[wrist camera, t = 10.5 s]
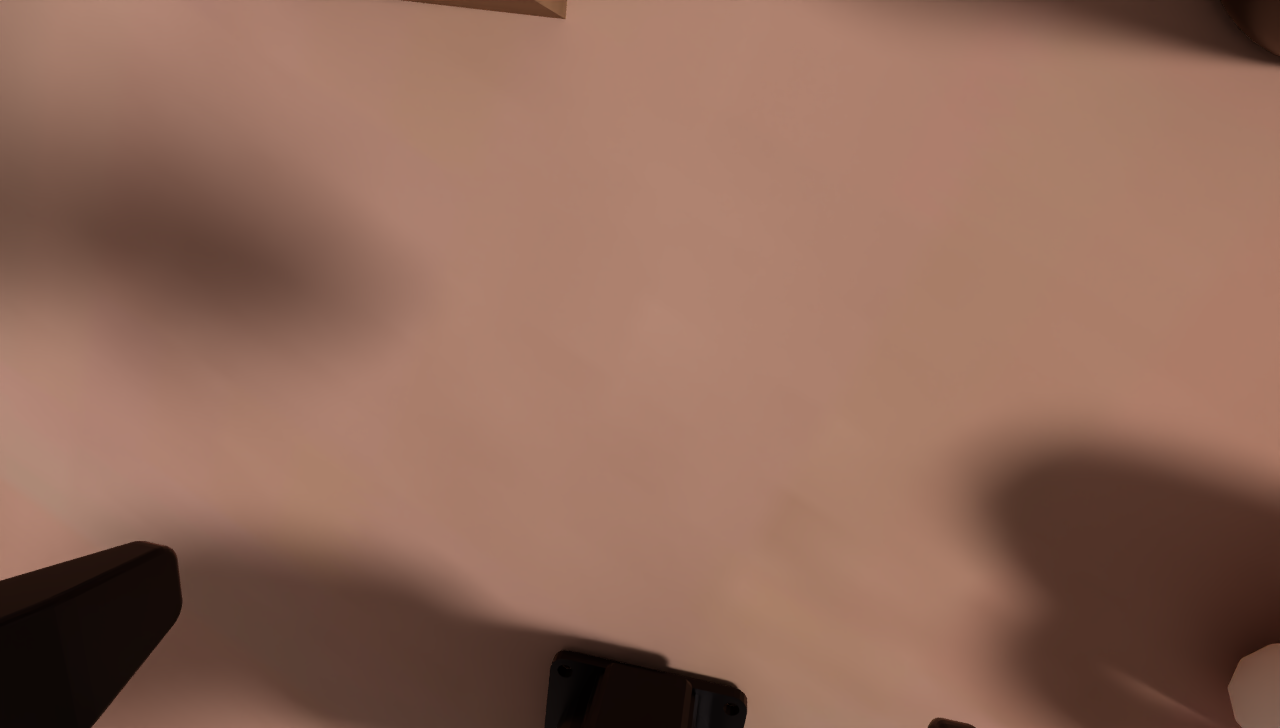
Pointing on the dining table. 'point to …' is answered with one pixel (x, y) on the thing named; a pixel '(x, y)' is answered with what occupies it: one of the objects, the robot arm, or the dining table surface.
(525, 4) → the walnut slab
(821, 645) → the dining table surface
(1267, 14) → the supplement bottle
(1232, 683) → the white knot sculpture
